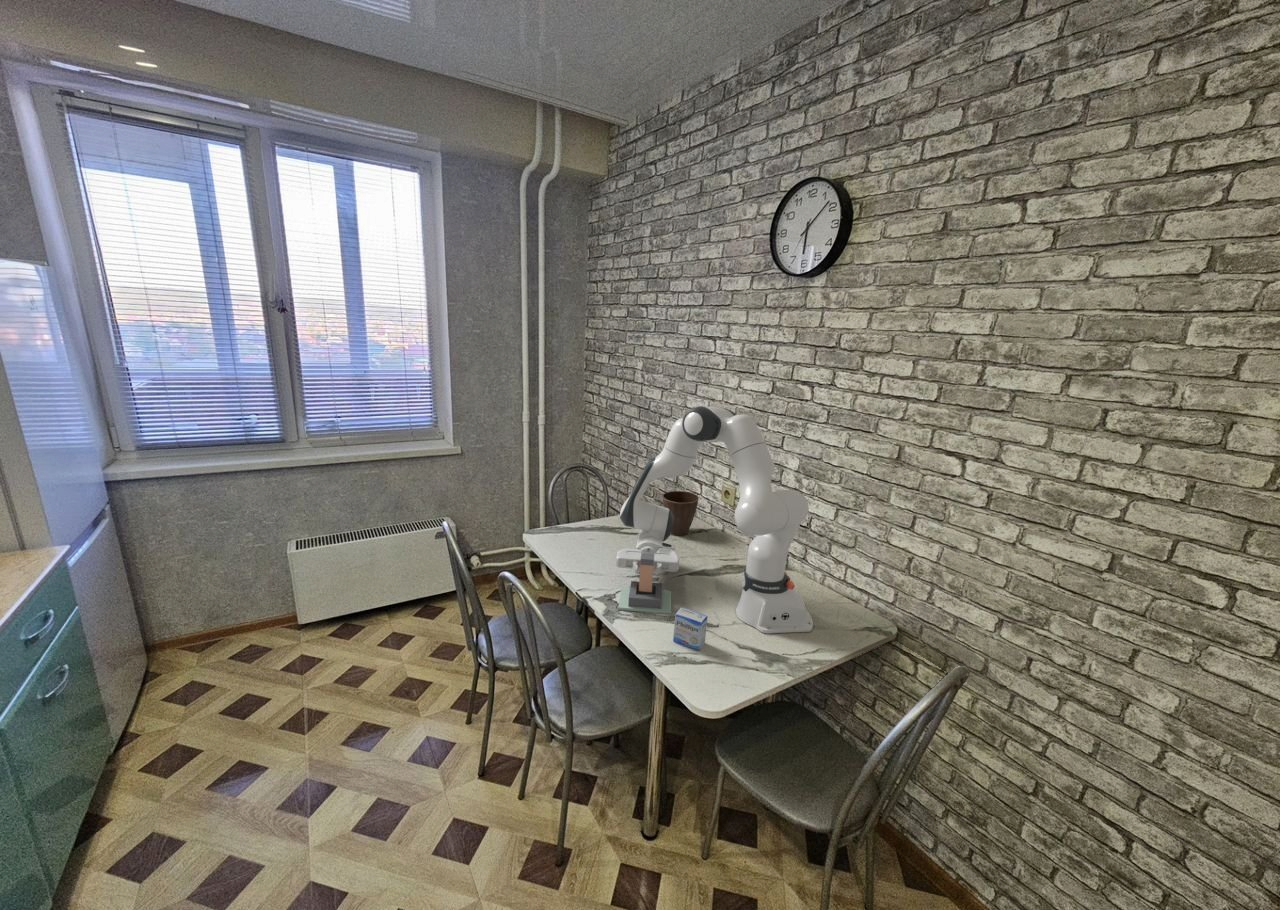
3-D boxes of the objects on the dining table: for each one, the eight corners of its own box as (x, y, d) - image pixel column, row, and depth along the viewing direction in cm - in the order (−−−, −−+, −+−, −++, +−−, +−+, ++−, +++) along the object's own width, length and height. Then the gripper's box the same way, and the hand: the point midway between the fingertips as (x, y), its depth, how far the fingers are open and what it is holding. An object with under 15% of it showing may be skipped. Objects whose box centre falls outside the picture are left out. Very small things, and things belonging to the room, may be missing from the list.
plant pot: (656, 536, 201) (658, 499, 197) (665, 523, 215) (667, 488, 211) (692, 542, 197) (695, 505, 193) (698, 528, 211) (701, 493, 207)
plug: (652, 585, 154) (654, 553, 151) (651, 592, 150) (653, 559, 147) (639, 584, 154) (641, 552, 152) (638, 591, 151) (640, 558, 148)
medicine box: (672, 641, 134) (674, 614, 132) (679, 633, 138) (681, 606, 136) (699, 651, 131) (702, 623, 128) (705, 642, 135) (707, 614, 132)
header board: (670, 592, 159) (671, 582, 158) (670, 613, 147) (671, 602, 146) (621, 589, 159) (622, 578, 158) (618, 609, 148) (618, 598, 147)
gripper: (618, 541, 163) (613, 560, 150) (679, 545, 162) (680, 565, 149) (617, 558, 165) (612, 578, 151) (678, 563, 164) (678, 584, 150)
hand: (646, 572), depth 150 cm, fingers closed on plug, 4 cm apart
